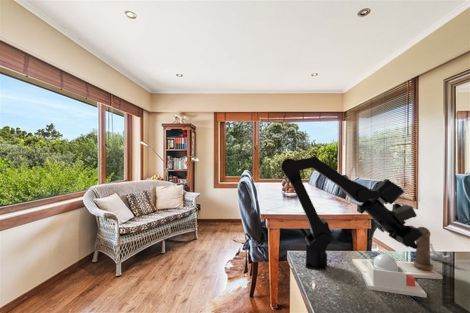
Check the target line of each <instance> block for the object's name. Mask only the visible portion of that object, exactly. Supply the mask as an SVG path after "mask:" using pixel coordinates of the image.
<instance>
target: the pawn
mask: <svg viewBox="0 0 470 313" xmlns="http://www.w3.org/2000/svg"><path fill="white" fill-rule="evenodd" d="M417 228H418V229H419V230H420V231H421V232H422V233H423V235H422V236H421V237H420V238H419V239H418V240H416V241H415V243H416V245H417V247H418V248H417V249H415V252H416V253H415V257H416V260H413V262H414V266H415V267H416V268H419V269H422V270H428V271H430V270H434V265H433V264H432V263H431V257H430V251H431V248H430V244H431V240H430V238H431V232H430V230H429V229H428V228H427V227H424V226H419V227H417Z"/></svg>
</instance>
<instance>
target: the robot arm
mask: <svg viewBox="0 0 470 313" xmlns="http://www.w3.org/2000/svg"><path fill="white" fill-rule="evenodd" d="M309 169H313V170H314V171H315V172H317V173H318V174H319V175H320V176H323V177H324V178H326V179H328V181H330V182H332V183H333V184H335V185H336V186H337V187H339V189H341V191H342V192H343V193H344V194H345V195H346V196H348V197H349V199H351V200H353V201H356V202H357V203H360V204H356V207H357V208H356V211H357V212H358V213H359V214H361V215H363V214H364V213H366V214H368V216H370V217H371V218H372V219H373V221H374V222H375V228H376V229H378V230H379V231H380V232H382V233H384V232H385V233H388V237H390V238H391V239H393V240H394V241H396V242H398V243H400V244H402V245H403V246H405V247H406V248H412V249H414V250H416V249H417V248H418V247H417V245H416V240H418V239H419V238H420V237H421V236H422V235H423V233H422V232H421V231H420V230H419V229H418V227H415V226H414V225H406V223H407V222H406V221H408V220H410V219H412V218H416V217H417V214H416V211H415V210H414V208H413V206H412V205H407V204H400V203H398V202H396V201H397V200H398V199H399V198H400V197H401V196H402V195H404V194H405V190H404V189H403V188H402V187H401V186H399V185H397V184H396V183H395V182H393V181H391V180H390V179H388V178H387V179H386V178H385V179H384V180H382V182H381V183H380V184H379V185H378V186H377V187H376V188H375V189H374V188H369V187H368V186H366V185H363V184H362V183H359V182H357V181H355V180H351V179H349V178H348V177H346V176H345V175H343V174H341V173H340V172H338V170H335V169H334V168H332V167H330V165H327V164H326V163H324V162H323V161H322V160H321V159H319V158H318V157H316V156H309V157H306V158H301V159H296V160H295V159H293V158H286V159H285V158H284V159H283V160H282V161H281V162H280V170H281V172H282V173H283V174H284V177H286V179H287V180H288V182H289V183H290V184H291V186H292V189H293V190H294V193H295V195H296V197H297V199H298V200H299V203H300V206H301V208H302V210H303V212H304V214H305V216H306V219H307V220H308V221H307V222H308V226H309V227H308V228H309V230H310V233H309V234H307V235H306V236H305V238H304V239H305V242H306V245H305V268H308V269H316V270H322V271H323V270H324V271H325V270H327V268H326V267H328V253H327V248H328V246H329V245H330V244H331V243H332V240H333V236H332V234H333V233H334V232H333V231H331V229H330V227H329V224H328V221H327V220H326V219H325V218H320V217H319V215H318V212H317V210H316V208H315V206H314V204H313V202H312V200H311V197H310V196H309V194H308V191H307V190H306V187H305V185H304V183H303V179H302V175H301V174H302V173H301V171H304V170H309ZM394 202H395V203H394ZM387 204H389V205H392V210H390V209H389V208H388V207H387V206H385V205H387Z"/></svg>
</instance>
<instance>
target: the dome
mask: <svg viewBox="0 0 470 313" xmlns="http://www.w3.org/2000/svg"><path fill="white" fill-rule="evenodd" d="M373 260H374V269H377V270H386V271H394V272H397V263H396V261H397V260H395V259H394V258H393V256H391V255H389V254H385V253H380V254H378V255H376V256H375V257H374V259H373Z"/></svg>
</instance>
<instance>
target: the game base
mask: <svg viewBox="0 0 470 313" xmlns="http://www.w3.org/2000/svg"><path fill="white" fill-rule="evenodd" d="M366 260H367V272H361V276H362V279H363V281H364V283H365V286H366V288H367V289H368V290H370V291H371V290H372V291H379V292H386V293H390V294H392V293H393V294H398V295H399V294H400V295H406V296H413V297H421V298H428V296H427V295H428V294H427V293H426V291H425V290H424V289H423V287H421V286H420V284H418V282H417V281H416V278H414V277H413V276H412V275H406V273H405V272H404V271H403V269H402V268H401V267H400V266H399V265H398V264H397V272H394V271H386V270H377V269H374V259H372V258H366ZM396 263H397V262H396Z"/></svg>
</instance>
